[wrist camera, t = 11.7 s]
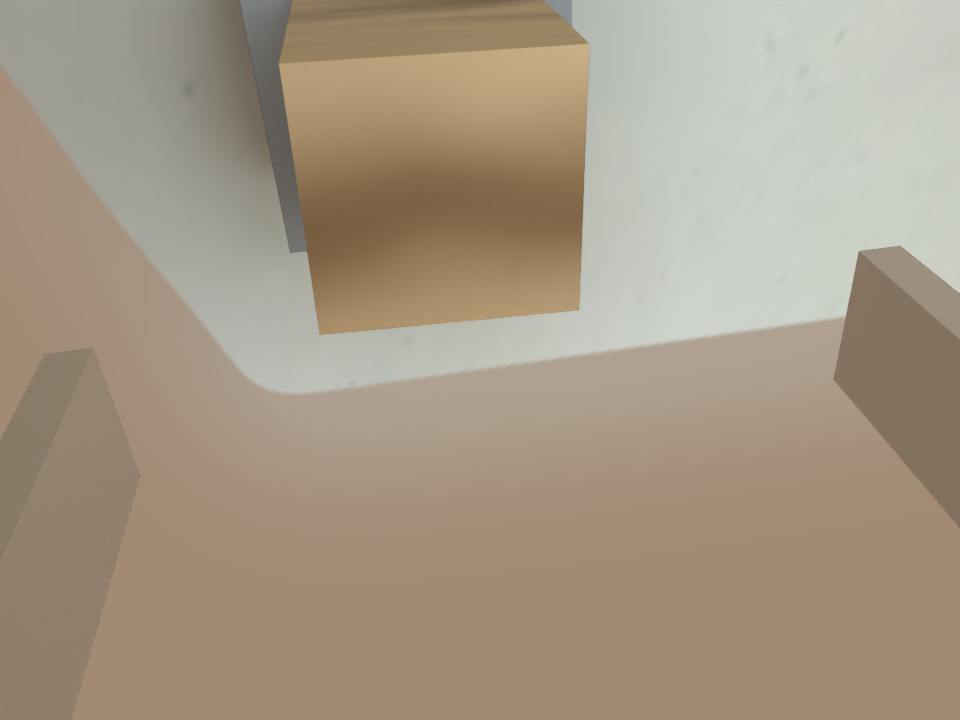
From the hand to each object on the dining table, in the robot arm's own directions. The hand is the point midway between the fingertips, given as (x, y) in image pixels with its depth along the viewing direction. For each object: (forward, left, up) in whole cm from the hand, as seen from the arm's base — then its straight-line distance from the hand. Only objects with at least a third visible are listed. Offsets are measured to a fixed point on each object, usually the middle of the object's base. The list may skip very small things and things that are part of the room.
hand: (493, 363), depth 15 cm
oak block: (0, 0, -16) cm, 16 cm away
